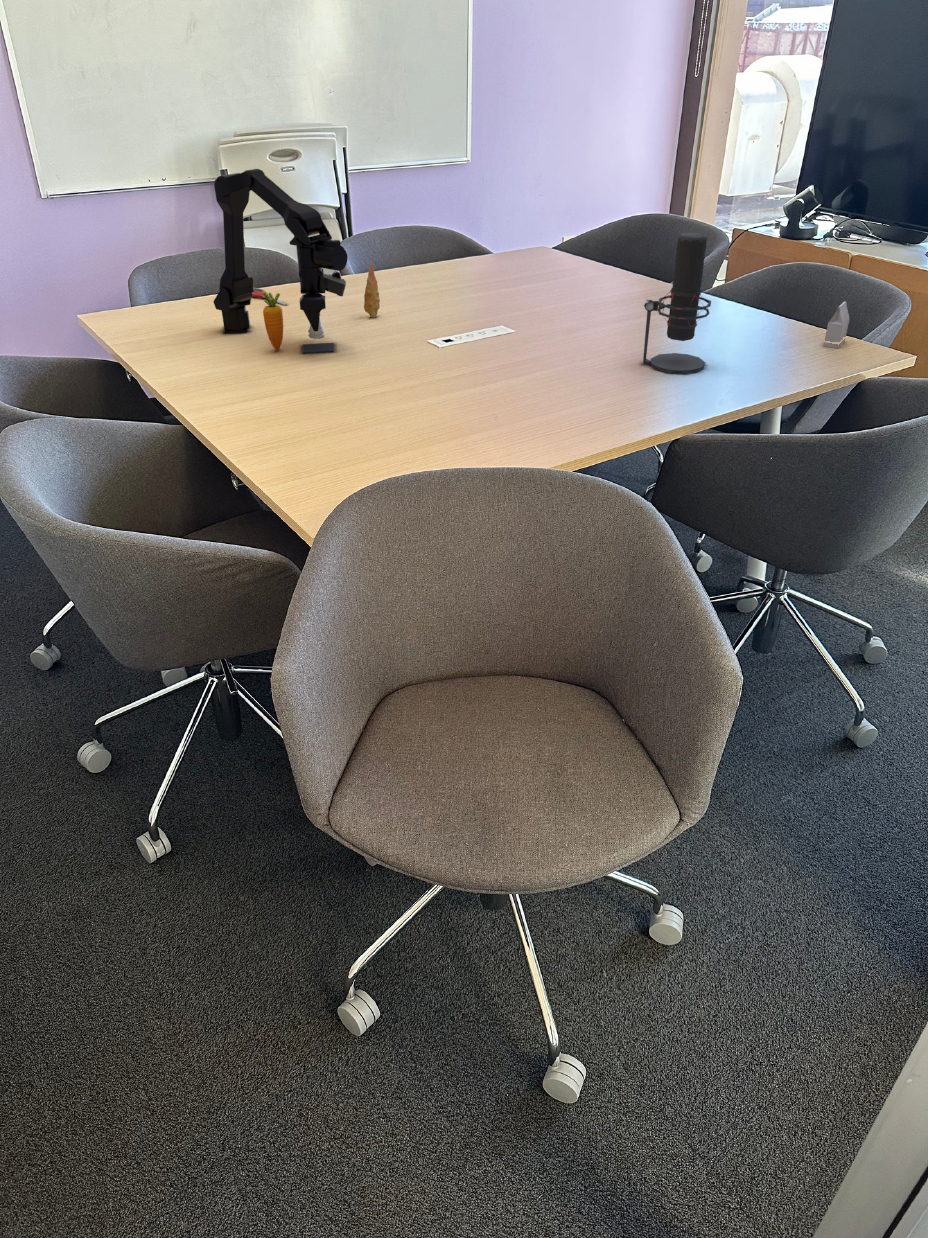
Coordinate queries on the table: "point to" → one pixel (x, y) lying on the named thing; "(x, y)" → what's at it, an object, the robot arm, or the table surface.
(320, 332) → the rook chess piece
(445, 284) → the table surface
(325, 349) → the coaster
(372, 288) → the stone tool
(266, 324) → the carrot
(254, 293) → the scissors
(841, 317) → the grey pointed faceted piece
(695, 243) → the microphone
